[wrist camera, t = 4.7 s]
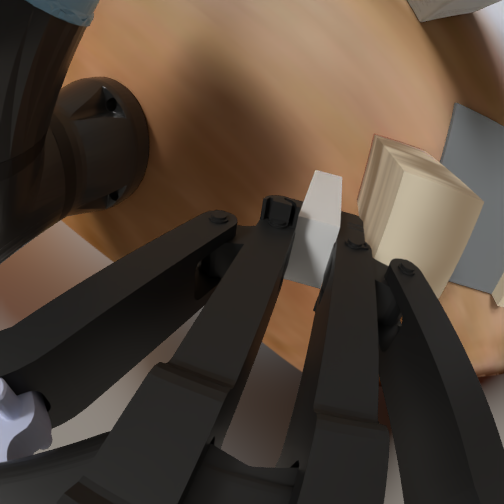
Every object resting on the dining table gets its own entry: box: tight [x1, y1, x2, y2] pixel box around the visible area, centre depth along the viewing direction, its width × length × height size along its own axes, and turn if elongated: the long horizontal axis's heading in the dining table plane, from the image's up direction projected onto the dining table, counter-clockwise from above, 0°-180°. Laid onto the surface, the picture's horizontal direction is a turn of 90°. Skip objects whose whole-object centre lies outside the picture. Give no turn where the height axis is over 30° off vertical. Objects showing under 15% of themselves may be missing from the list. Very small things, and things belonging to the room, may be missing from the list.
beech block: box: [357, 134, 484, 299], centre depth 18 cm, size 4×6×12 cm
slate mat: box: [440, 103, 504, 307], centre depth 20 cm, size 13×16×3 cm
